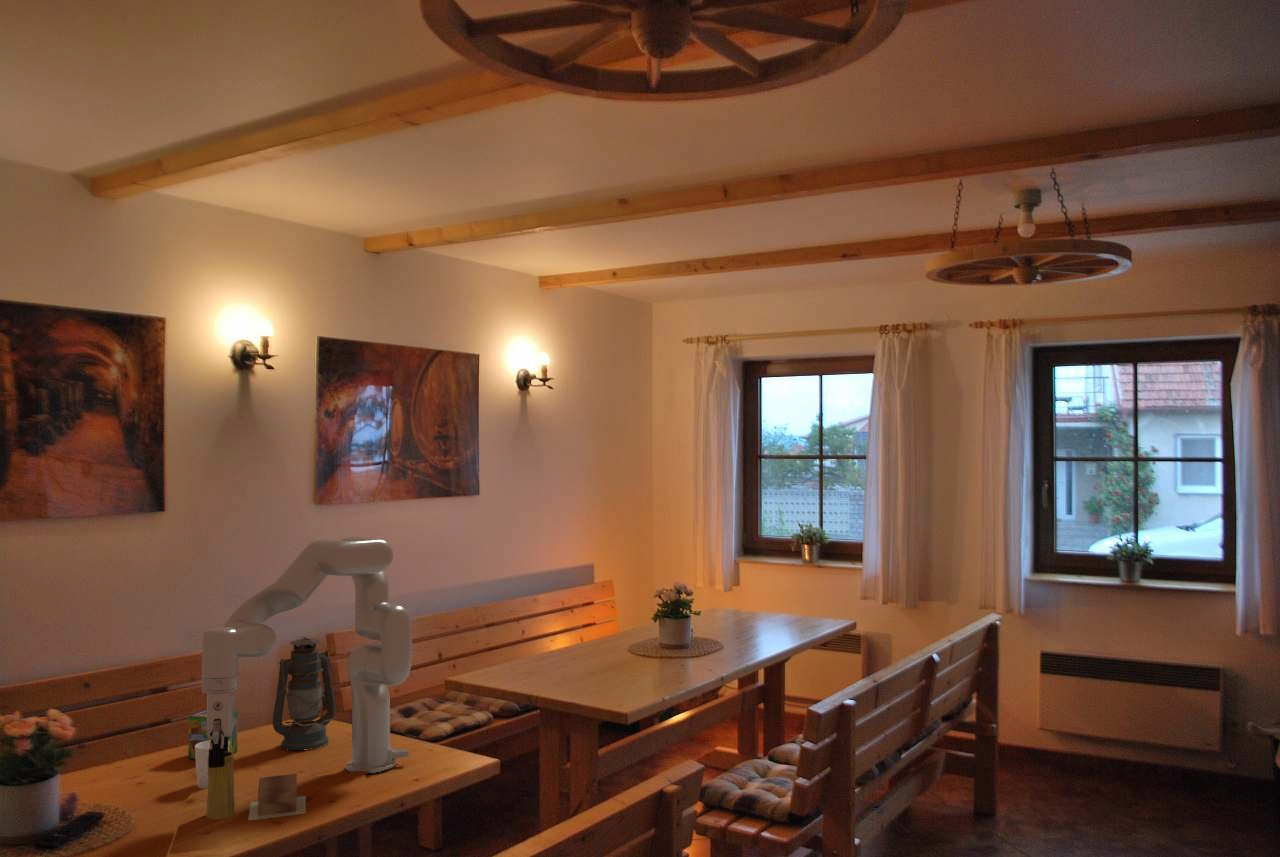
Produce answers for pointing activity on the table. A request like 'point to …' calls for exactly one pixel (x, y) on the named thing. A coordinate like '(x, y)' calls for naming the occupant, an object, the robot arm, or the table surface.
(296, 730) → the lantern
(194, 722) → the chalk box
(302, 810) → the baseplate
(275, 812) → the walnut block
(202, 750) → the white cup
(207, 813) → the vase
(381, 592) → the robot arm
